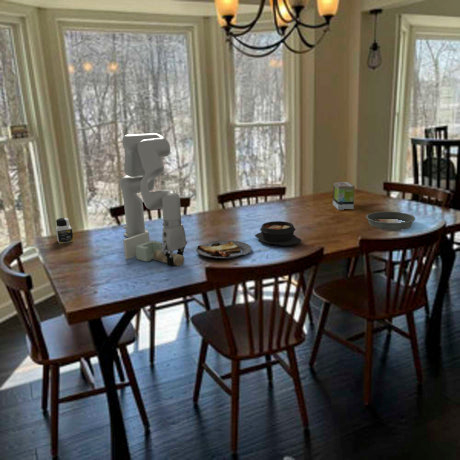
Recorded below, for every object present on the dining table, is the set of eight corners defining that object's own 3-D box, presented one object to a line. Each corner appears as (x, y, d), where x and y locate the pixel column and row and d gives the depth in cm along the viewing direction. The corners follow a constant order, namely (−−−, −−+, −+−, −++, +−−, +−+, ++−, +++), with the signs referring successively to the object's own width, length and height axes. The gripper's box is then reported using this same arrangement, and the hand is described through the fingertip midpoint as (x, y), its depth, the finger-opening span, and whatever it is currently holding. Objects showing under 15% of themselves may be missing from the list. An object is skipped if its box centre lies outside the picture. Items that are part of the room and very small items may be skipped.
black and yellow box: (59, 244, 228) (55, 221, 225) (57, 240, 234) (53, 218, 231) (73, 241, 231) (70, 219, 228) (71, 238, 237) (68, 216, 234)
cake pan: (394, 217, 254) (394, 209, 252) (425, 228, 231) (425, 219, 230) (356, 222, 247) (356, 214, 246) (384, 233, 224) (384, 225, 223)
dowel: (153, 261, 198) (152, 251, 197) (161, 258, 202) (160, 248, 200) (176, 267, 190) (176, 256, 188) (184, 264, 193) (183, 253, 192)
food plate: (207, 264, 191) (207, 256, 190) (189, 249, 212) (189, 242, 211) (259, 256, 200) (259, 248, 200) (238, 243, 221) (237, 236, 220)
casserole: (246, 240, 222) (245, 224, 220) (273, 232, 233) (273, 216, 231) (282, 252, 203) (282, 234, 201) (310, 243, 214) (310, 226, 212)
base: (125, 258, 202) (123, 239, 200) (148, 250, 213) (146, 231, 210) (127, 259, 201) (125, 240, 199) (150, 250, 212) (148, 232, 210)
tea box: (354, 209, 272) (355, 185, 268) (337, 210, 273) (338, 186, 268) (348, 204, 287) (349, 181, 283) (332, 204, 287) (333, 181, 283)
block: (136, 259, 201) (135, 246, 199) (153, 252, 208) (152, 240, 207) (146, 261, 197) (145, 248, 195) (163, 255, 204) (162, 242, 203)
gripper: (164, 229, 179) (167, 271, 185) (192, 219, 193) (195, 259, 198) (151, 226, 184) (155, 267, 189) (179, 217, 197) (182, 256, 202)
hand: (175, 262), depth 193 cm, fingers open, 5 cm apart
